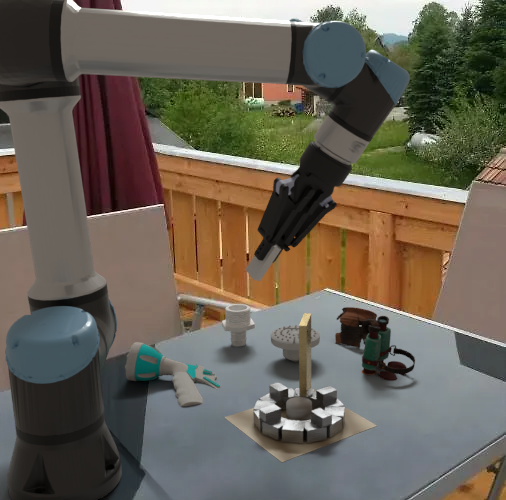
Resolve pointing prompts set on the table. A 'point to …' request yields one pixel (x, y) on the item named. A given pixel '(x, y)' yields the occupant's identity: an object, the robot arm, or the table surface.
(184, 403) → the garden hose nozzle
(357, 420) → the base
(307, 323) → the block ring with board
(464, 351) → the table surface
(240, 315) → the pipe fitting
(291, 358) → the showerhead
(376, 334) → the binoculars
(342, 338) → the brown leather pouch
